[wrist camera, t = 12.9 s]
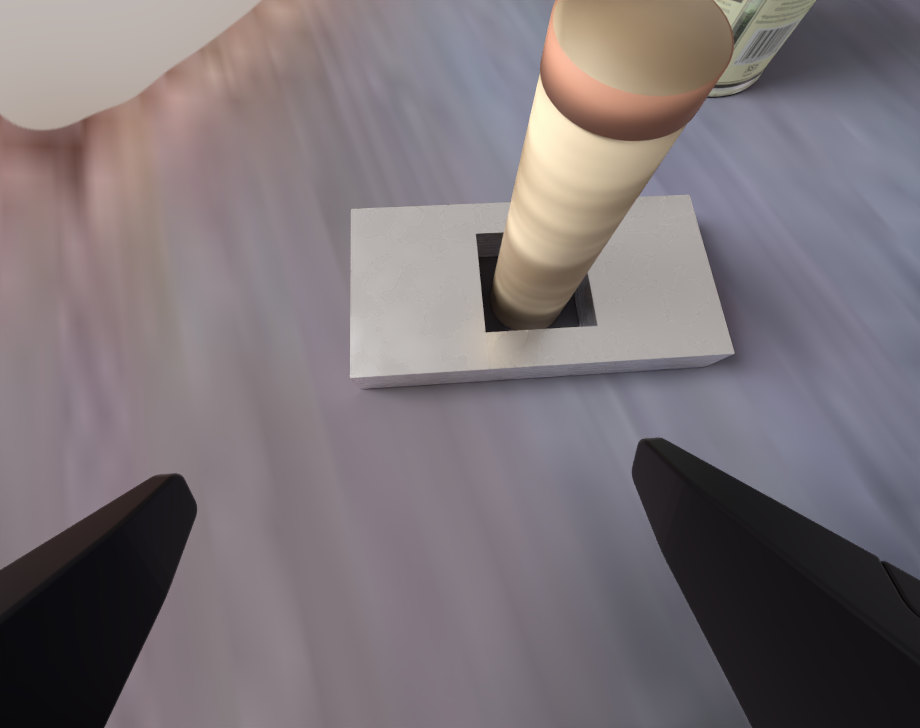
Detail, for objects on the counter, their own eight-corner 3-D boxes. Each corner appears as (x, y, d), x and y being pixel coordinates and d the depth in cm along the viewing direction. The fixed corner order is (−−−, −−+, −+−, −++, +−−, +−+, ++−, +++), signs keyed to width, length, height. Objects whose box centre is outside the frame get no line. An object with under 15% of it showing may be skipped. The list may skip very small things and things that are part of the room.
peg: (546, 345, 23) (706, 124, 9) (476, 314, 24) (522, 55, 9) (573, 284, 24) (752, 1, 10) (507, 255, 25) (588, -55, 10)
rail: (705, 366, 23) (734, 353, 21) (360, 389, 22) (350, 377, 20) (667, 221, 26) (689, 194, 24) (360, 235, 25) (351, 208, 23)
